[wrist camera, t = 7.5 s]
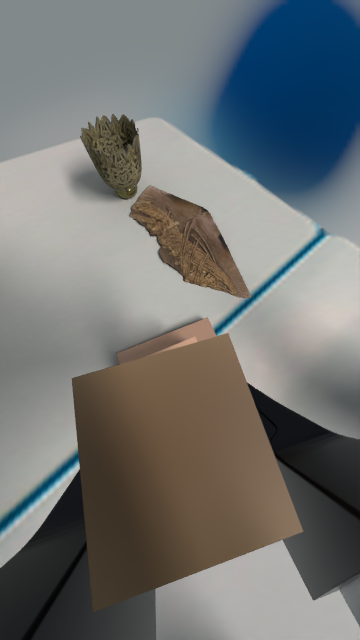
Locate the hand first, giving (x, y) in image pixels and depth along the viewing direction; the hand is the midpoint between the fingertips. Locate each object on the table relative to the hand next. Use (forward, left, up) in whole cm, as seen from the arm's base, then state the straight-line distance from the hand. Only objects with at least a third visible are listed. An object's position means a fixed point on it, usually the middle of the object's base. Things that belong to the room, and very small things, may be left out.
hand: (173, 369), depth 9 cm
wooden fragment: (+18, -9, -13) cm, 24 cm away
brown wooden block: (-1, 0, -7) cm, 7 cm away
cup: (+31, -3, -12) cm, 33 cm away
